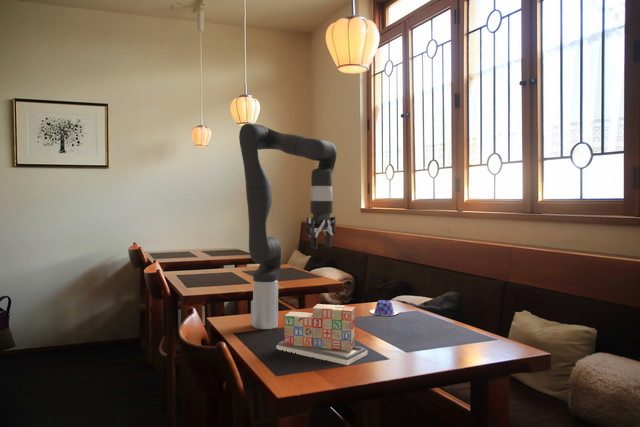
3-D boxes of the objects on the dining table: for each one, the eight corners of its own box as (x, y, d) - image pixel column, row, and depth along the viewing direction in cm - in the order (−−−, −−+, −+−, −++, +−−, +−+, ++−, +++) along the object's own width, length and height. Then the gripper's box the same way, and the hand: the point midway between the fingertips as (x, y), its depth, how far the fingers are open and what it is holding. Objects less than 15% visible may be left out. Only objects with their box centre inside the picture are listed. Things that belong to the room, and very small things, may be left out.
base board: (276, 349, 156) (276, 342, 156) (299, 340, 166) (299, 334, 165) (347, 365, 141) (347, 358, 141) (367, 354, 151) (367, 347, 151)
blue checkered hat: (364, 314, 205) (364, 302, 205) (377, 309, 215) (377, 297, 215) (391, 318, 199) (391, 305, 198) (403, 312, 209) (403, 300, 209)
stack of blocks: (283, 345, 153) (283, 305, 153) (289, 339, 159) (290, 301, 159) (351, 351, 148) (351, 310, 147) (355, 345, 154) (355, 305, 154)
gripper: (319, 199, 158) (318, 250, 158) (342, 199, 170) (341, 246, 170) (300, 199, 162) (299, 248, 163) (323, 199, 174) (323, 245, 174)
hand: (321, 247), depth 166 cm, fingers open, 8 cm apart
